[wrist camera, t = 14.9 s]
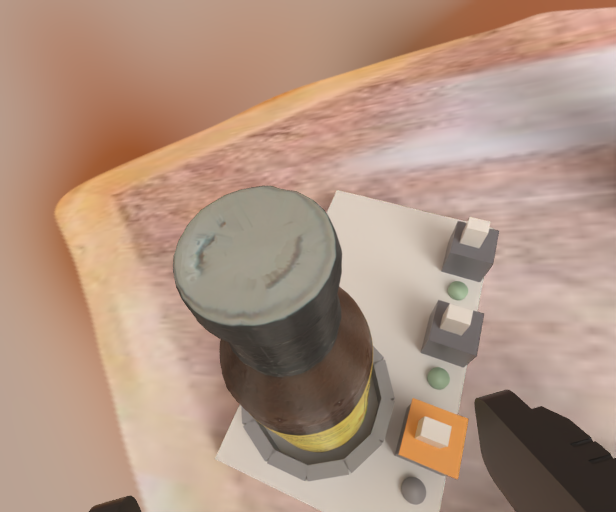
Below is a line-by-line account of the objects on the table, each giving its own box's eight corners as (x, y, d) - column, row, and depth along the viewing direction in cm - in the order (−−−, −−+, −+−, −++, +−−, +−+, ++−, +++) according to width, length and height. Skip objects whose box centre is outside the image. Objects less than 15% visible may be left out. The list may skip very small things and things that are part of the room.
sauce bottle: (384, 418, 25) (467, 297, 7) (303, 474, 23) (181, 481, 6) (332, 339, 28) (306, 123, 10) (258, 384, 26) (94, 225, 9)
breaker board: (337, 203, 37) (335, 147, 30) (485, 240, 33) (518, 186, 27) (223, 459, 26) (184, 456, 20) (423, 557, 22) (452, 590, 16)
